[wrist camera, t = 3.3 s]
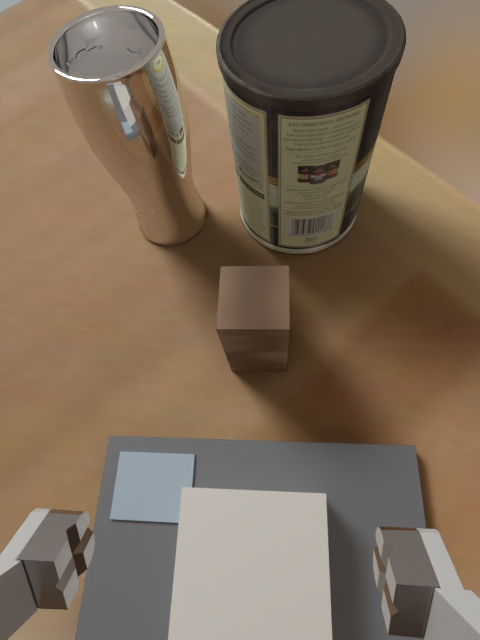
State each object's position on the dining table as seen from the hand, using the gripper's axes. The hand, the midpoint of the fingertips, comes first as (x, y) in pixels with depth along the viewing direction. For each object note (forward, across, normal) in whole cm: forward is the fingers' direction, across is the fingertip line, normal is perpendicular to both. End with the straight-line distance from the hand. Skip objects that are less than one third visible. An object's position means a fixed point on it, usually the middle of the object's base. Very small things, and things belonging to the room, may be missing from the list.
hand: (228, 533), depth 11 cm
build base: (+9, 0, +13) cm, 15 cm away
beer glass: (+27, +8, -6) cm, 29 cm away
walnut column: (+19, 0, +3) cm, 19 cm away
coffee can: (+28, -3, -6) cm, 29 cm away
